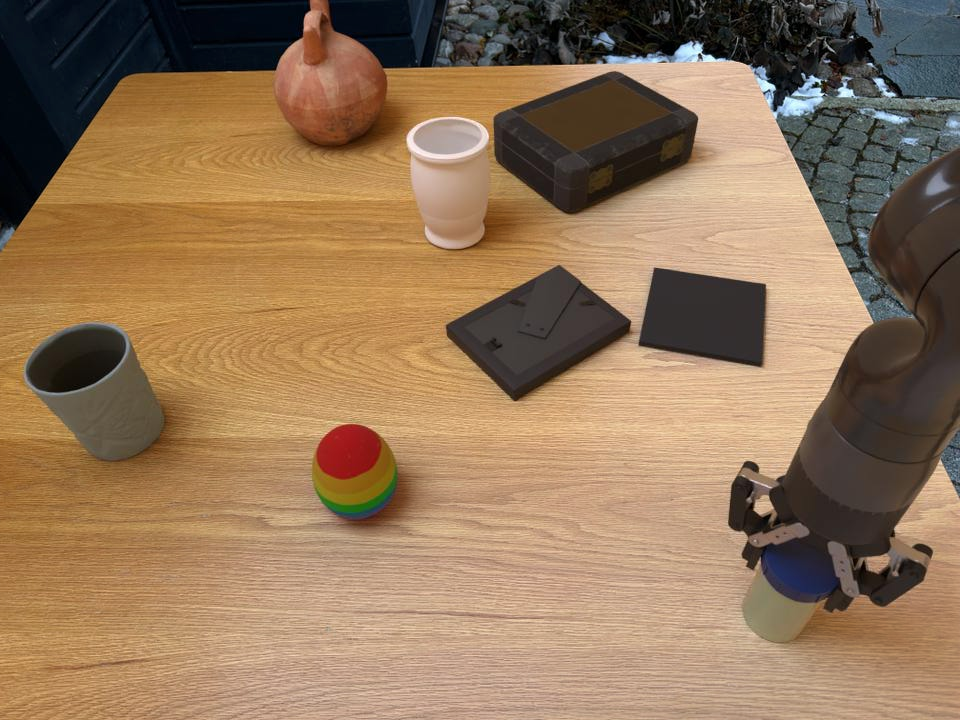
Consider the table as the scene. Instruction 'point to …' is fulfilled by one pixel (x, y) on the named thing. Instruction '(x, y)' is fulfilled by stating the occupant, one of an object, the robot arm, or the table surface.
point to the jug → (329, 83)
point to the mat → (705, 316)
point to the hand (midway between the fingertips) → (791, 580)
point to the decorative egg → (354, 471)
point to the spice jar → (774, 611)
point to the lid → (799, 571)
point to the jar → (450, 179)
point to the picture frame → (537, 331)
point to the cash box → (593, 139)
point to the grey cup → (97, 389)
